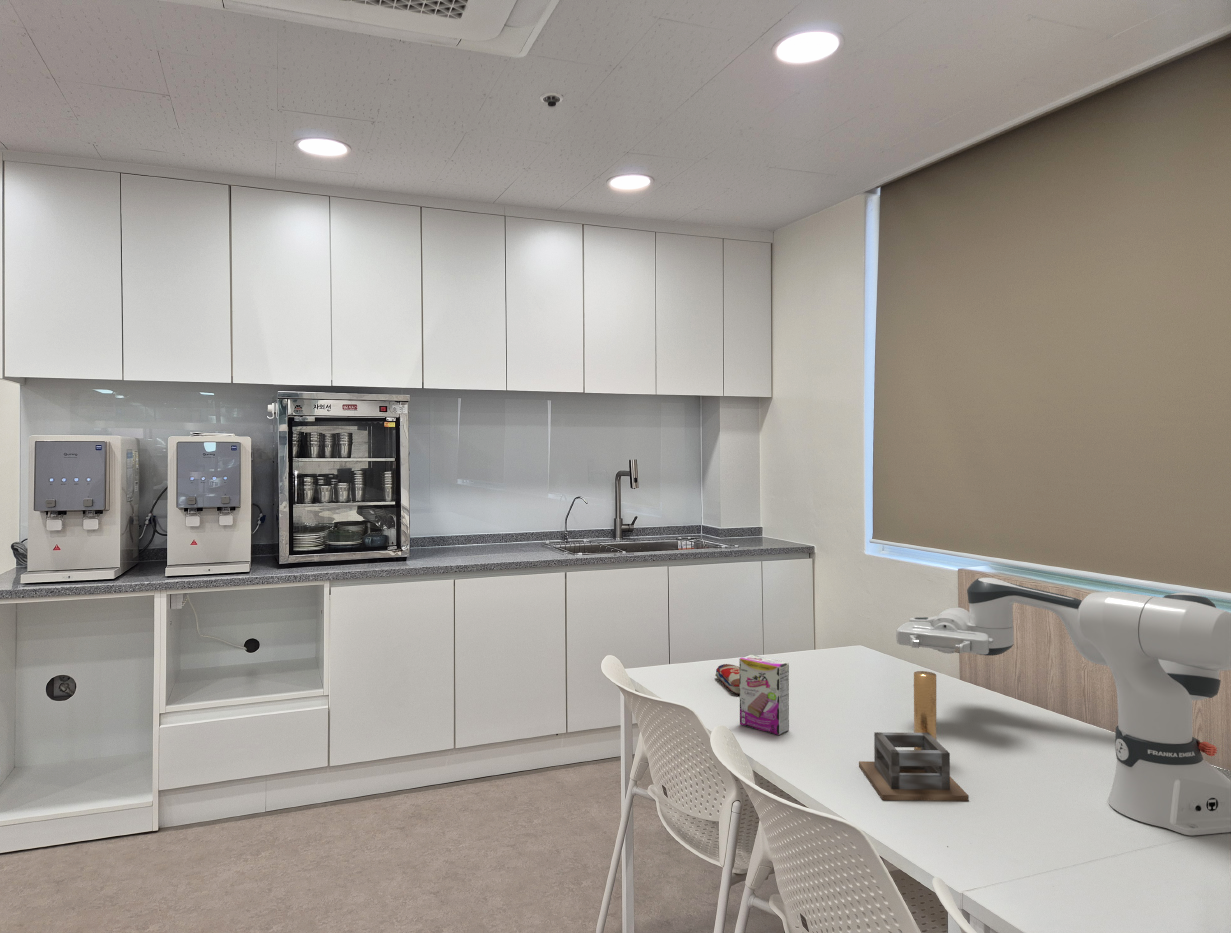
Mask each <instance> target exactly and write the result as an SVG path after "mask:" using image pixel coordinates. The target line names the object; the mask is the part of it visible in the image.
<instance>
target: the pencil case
mask: <svg viewBox="0 0 1231 933" xmlns="http://www.w3.org/2000/svg"><path fill="white" fill-rule="evenodd" d="M715 677H716V678H717V679H719V680H720V681H721V683H722V684H724V686H726V688H728V689H729V690H730V692H732V693H735V694H736V695H740V665H735V664H730V663H724V664H720V665H719V666H717V668H716V670H715Z"/></svg>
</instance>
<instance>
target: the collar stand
mask: <svg viewBox="0 0 1231 933" xmlns="http://www.w3.org/2000/svg"><path fill="white" fill-rule="evenodd" d="M873 733H874V735H873V737H874V741H873V742H874V746H873V748H874V752H873V753H874V754H873V756H874V758H873V759H874V760H873V761H871V760H870V761H865V760H864V761H861V760H860V761H858V767H859V769H860V770H861V771H862V773H863V774H864V775H865V777H866V779H867V780H868V782H869V783H870V785H871V786H872V787H873V789H874V790H875V792H876V793H877V795H878V796H879V797H880V799H881V800H882V801H925V802H926V801H929V802H931V801H933V802H936V801H937V802H939V801H941V802H942V801H944V802H948V801H950V802H951V801H953V802H969V798H970V796H969V794H968V793H967V792H966V791H965V790H964V789H963V788H962V787H961V786H960V784H958V783H957V781H955V780H954V779H953V778H952V777H951V762H950V760H951V759H950V758H951V757H950V756H951V754H950V752H949V751H948V750H947V749H946V748H945V747H944V746H943V745H942V744H941V743H940V742H939V741H938V740H936V739H935V738H933V737H932V736H931V735H930V734H929V733H914V732H882V731H881V732H873ZM914 747H916V748H921V750H914V749H897V748H914Z"/></svg>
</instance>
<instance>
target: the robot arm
mask: <svg viewBox="0 0 1231 933" xmlns="http://www.w3.org/2000/svg"><path fill="white" fill-rule="evenodd" d="M966 592H967V602H968V606H969V607H968V609H969V611H968V610H967V609H965V608H963V607H957V606H956V607H950V608H947V609H944V610H943V611H941V612H940V613H939V614H938V615H934V616H928V617H926V616H924V617H910V618H909V619H908V620H909V621H907V622H904V623H903V624H901V625H900V626H899V627H898V628H897V629H896V637H895V638H896V644H897V645H901V646H908V647H911V648H914V649H919V648H923V649H924V648H925V649H932V650H934V651H938V652H940V653H941V654H942V653H943V654H947V655H948V654H950V655H951V654H956V653H957V654H961V655H962V654H965V653H968V654H974V655H979V656H992V657H993V656H1000V655H1002V654H1004V653H1005V652H1007V651H1009V650H1010V649H1012V648H1013V647H1014V645H1015V644H1014V640H1015V639H1014V638H1015V637H1014V634H1015V633H1014V621H1013V620H1014V614H1013V605H1014V604H1019V605H1025V606H1028V607H1033V608H1038V609H1043V610H1046V611H1050V612H1052V613H1054V614H1055V616H1057V617H1058V618H1059V619H1060V620H1061V622H1062V624H1063V625H1064V628H1065V630H1066V632H1067V634H1068V636H1069V638H1070V641H1071V643H1072V645H1073V646H1074V648H1075V650H1076V651H1077V652H1078V653H1079V654H1080V655H1081V656H1082V657H1083V658H1084V659H1085V660H1086V661H1088V662H1090V663H1092V664H1096V665H1100V666H1106V667H1108V668H1109V670H1110V672H1111V674H1112V677H1113V680H1114V684H1115V688H1116V696H1117V697H1116V698H1117V716H1118V717H1117V718H1118V722H1117V723H1118V724H1117V725H1116V727H1115V736H1114V737H1115V738H1114V743H1115V744H1114V746H1115V747H1114V748H1115V757H1116V763H1115V764H1116V765H1115V770H1114V771H1115V772H1114V778H1113V782H1112V786H1111V790H1110V793H1109V796H1108V797H1107V803H1108V804H1109V806H1110V807H1111V808H1112V809H1113V810H1115V811H1117V812H1118V813H1120V814H1121V815H1123V816H1126V817H1128V818H1130V819H1132V820H1135V821H1139V822H1141V823H1144V824H1149V825H1150V826H1151V825H1152V826H1156V827H1159V828H1165V829H1168V830H1171V831H1174V832H1176V833H1179V834H1182V835H1185V836H1192V837H1193V836H1200V835H1201V836H1202V835H1203V836H1204V835H1212V834H1221V833H1222V834H1225V833H1231V779H1230V778H1228V776H1226V775H1225V774H1224V773H1222V772H1221V771H1219V770H1218V768H1216V767H1214V766H1213V765H1211V764H1210V762H1208V761H1206V760H1205V759H1204V757H1203V754H1202V753H1204V754H1206V755H1207V756H1210V757H1215V756H1216V754H1217V753H1218V749H1217V747H1216V746H1215V745H1214V744H1212V743H1209V742H1208V741H1200V739H1198V738H1196V737H1195V736H1193V701H1203V700H1206V699H1212V698H1215V697H1216V696H1218V694H1219V690H1220V688H1221V687H1220V686H1221V682H1222V681H1221V679H1220V672H1227V671H1231V612H1230V611H1227V610H1223V609H1220V608H1217V606H1216V604H1215V603H1214V602H1213V601H1212V600H1210V599H1209V598H1208V597H1206V596H1202V595H1199V594H1197V593H1193V592H1187V591H1186V592H1176V593H1171V594H1166V595H1164V596H1162V597H1161V596H1153V595H1147V594H1139V593H1131V592H1126V591H1120V590H1119V591H1098V592H1097V591H1096V592H1090V593H1089V594H1088V595H1087V596H1086V597H1084V598H1083V600H1081V599H1079V598H1076V597H1072V596H1069V595H1065V594H1061V593H1057V592H1051V591H1047V590H1042V589H1037V588H1033V587H1029V586H1024V585H1020V584H1015V583H1012V582H1008V581H1005V580H1001V579H999V578H994V577H978V578H976V579H975V580H974V581H972V583H971V584H970V585H969V586H968V588H967V589H966Z"/></svg>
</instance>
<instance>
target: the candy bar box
mask: <svg viewBox="0 0 1231 933" xmlns="http://www.w3.org/2000/svg"><path fill="white" fill-rule="evenodd" d="M789 664H790V662H786V661H782V660H777V659H772V658H767V657H763V656H758V655H754V654H748V655H745V656H741V657H740V658H739V667H740V694H739V725H741V726H744V727H748V728H752V729H755V730H759V731H763V732H765V733H769V734H772V735H776V736H780V735H783V734H785V733H786V732H788V731H790V698H789V697H790V693H789V692H790V685H789V684H790V681H789V680H790V677H789V676H790V669H789V668H790V665H789Z"/></svg>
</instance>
